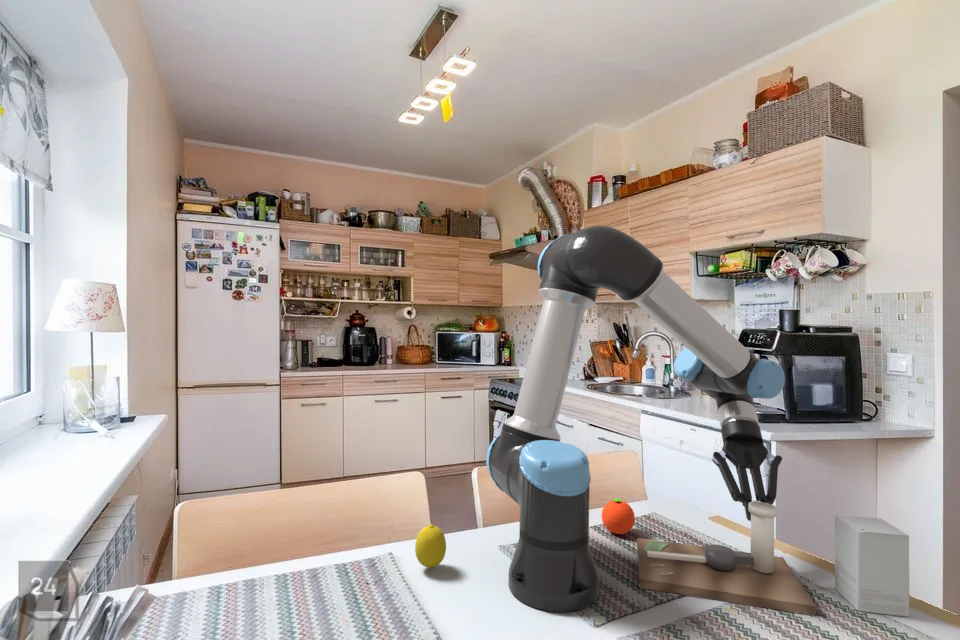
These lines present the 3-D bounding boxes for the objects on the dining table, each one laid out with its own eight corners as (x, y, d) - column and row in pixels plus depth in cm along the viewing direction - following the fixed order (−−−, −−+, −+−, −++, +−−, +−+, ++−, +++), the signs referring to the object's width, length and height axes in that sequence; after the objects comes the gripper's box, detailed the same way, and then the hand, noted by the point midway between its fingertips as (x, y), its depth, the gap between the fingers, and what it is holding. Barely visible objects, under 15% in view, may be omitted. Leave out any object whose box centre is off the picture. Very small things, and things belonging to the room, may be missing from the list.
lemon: (409, 573, 87) (410, 527, 87) (424, 559, 92) (425, 516, 92) (437, 579, 84) (437, 533, 85) (450, 565, 90) (451, 521, 90)
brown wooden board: (639, 587, 83) (639, 577, 83) (637, 545, 99) (637, 536, 99) (816, 616, 75) (816, 605, 75) (782, 565, 92) (782, 556, 92)
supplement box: (911, 618, 75) (911, 535, 75) (856, 611, 77) (857, 531, 77) (882, 592, 83) (882, 517, 83) (832, 587, 84) (833, 513, 84)
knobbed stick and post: (649, 563, 88) (650, 501, 88) (645, 550, 93) (645, 492, 93) (781, 576, 84) (781, 512, 84) (769, 562, 89) (770, 502, 89)
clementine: (598, 523, 110) (598, 492, 110) (630, 525, 109) (630, 493, 109) (603, 539, 102) (604, 504, 102) (638, 540, 101) (638, 506, 101)
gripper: (770, 438, 106) (797, 550, 90) (705, 435, 110) (720, 542, 94) (777, 419, 101) (807, 533, 85) (709, 416, 105) (726, 525, 89)
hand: (761, 538), depth 89 cm, fingers closed
